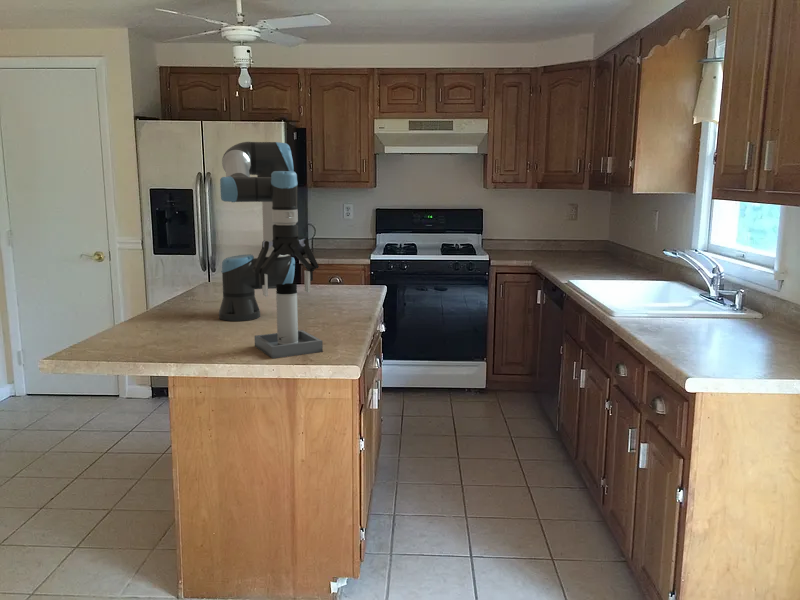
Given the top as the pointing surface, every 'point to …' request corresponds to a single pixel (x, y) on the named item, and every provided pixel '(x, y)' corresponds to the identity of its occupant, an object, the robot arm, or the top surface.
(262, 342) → the tray
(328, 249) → the top surface
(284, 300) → the travel mug
